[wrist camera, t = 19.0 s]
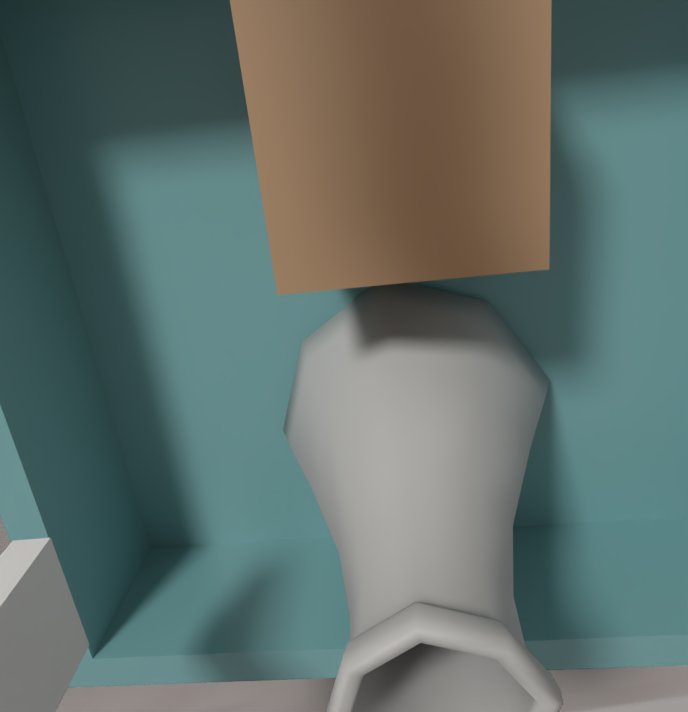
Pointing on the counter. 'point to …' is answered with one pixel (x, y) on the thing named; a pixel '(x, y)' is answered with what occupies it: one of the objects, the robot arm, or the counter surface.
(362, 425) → the flask
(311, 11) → the walnut cube
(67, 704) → the counter surface
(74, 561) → the tote
